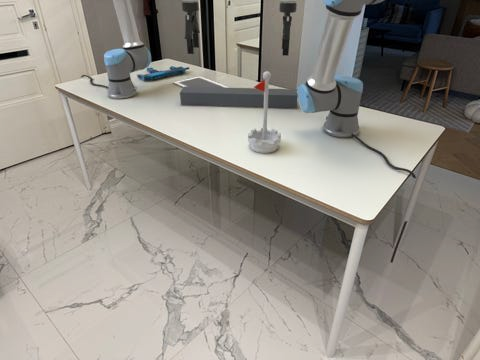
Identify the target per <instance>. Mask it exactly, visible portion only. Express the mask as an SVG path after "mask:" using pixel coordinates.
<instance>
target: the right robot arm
mask: <svg viewBox="0 0 480 360" xmlns="http://www.w3.org/2000/svg"><path fill="white" fill-rule="evenodd" d="M279 1H280V3H279V12H280V13H283V16H282V37H281V49H282V53H281V54H282V56H289V53H290V39H291V27H292V20H293V16H291V13H292V14H293V13H296V12H297V7H298V6H297V5H298V4H297V2H298V0H279ZM322 1H323V3H324V4H325V10H326V11H327V13H328V14H327V18H326V22H325V24H324V28H323V32H322V36H321V39H320V44H319V47H318V50H317V55H316V59H315V61H314V65H313V69H312V73H310V74H309V75H307V77H306V81H305V83H302V84H300V85H298V87H297V94H298V99H297V102H298V104H299V107H300V109H301V111H303V112H304V113H305V114H315V113H322V112H328V115H327V116H326V117H325V121H324V123H323V126H322V130H323V132H324V133H325V134H326V135H329V136H332V137H335V138H339V139H341V138H342V139H349V138H354V139H355V140H357V141H358V142H359V143H360V144H362V146H364V147H365V148H367V149H369V150H372V151H373V152H375V153H376V154H379V155H380V156H381V157H383V159H384V161H385V162H386V164H387V165H388V166H389V167H391V168H392V169H393V170H397V171H402V172H406V173H409V175H411V176H412V178H413V179H417V176H416V174H415V173H414V172H413V171H411V170H410V169H408V168H404V167H399V166H396V165H393V164H392V163H391V162H390V160H389V159H388V157H387V156H386V155H385V154H384V152H382V151H380V150H378V149H377V148H375V147H372V146H370V145H368V144H367V143H365V142H364V141H363V140H362V139H361V138H359V137H358V136H357V135H359V132H360V125H359V118H358V117H359V116H358V114H359V111H360V110H359V109H360V105H361V99H362V95H363V90H364V83H363V81H362V80H360V79H359V78H356V77H353V76H348V75H336V74H337V72H338V68H339V66H340V62H341V60H342V56H343V54H344V51H345V48H346V43H347V42H348V39H349V35H350V32H351V29H352V26H353V23H354V20H355V18H358V17H359V16H360V15H361V13H362V11H363V8H364V6H366V5H377V4H380V3H382V2H384V1H385V0H322ZM407 223H408V220H405V221H404V222H403V225H402V227H401V230H400V233H399V236H398V238H397V241H396V244H395V246H394V250H393V252H392V255H391V258H390V263H392V264H393V263H394V259H395V256H396V254H397V251H398V248H399V245H400V242H401V240H402V237H403V234H404V232H405V230H406V226H407Z"/></svg>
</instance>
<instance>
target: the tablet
mask: <svg viewBox="0 0 480 360" xmlns="http://www.w3.org/2000/svg"><path fill="white" fill-rule="evenodd" d="M172 84H174V85H177V86H179V87H181V88H183V87H184V86H185V87H224V88H231V87H230V86H227V85H224V84H222V83H219V82H216V81H214V80H212V79H208V78H206V77H203V76H201V75H199V76H194V77H191V78H186V79H182V80H178V81H173V82H172Z"/></svg>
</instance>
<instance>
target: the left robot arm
mask: <svg viewBox="0 0 480 360" xmlns="http://www.w3.org/2000/svg"><path fill="white" fill-rule="evenodd" d="M181 1H182V2H181V10H182V12H185V13H186V14H184V15H185V16H184V19H185V25H184V27H185V28H184V31H185V32H184V40H186V50H187V54H188V55H194V54H195V52H194V48H195V49H196V48H200V40H199V34H200V33H201V31H200V29H199V23H198V17H197V12H199V11H200V7H199V6H200V5H199V2H198V1H199V0H181ZM112 3H113V6H114V9H115V13H116V17H117V21H118V25H119V29H120V32H121V36H122V40H123V45H122V48H115V49H114V48H113V49H111V50H108V51H106V52H105V53H104V54H103V60H104V62H103V63H104V66H105V70H106V75H107V78H108V86H107V85H104V84H97V83H94V82H93V81H92V80H93V77H91V76H89V75H87V74H82V75H81V76H80V78H83V77H86V78H89V83H90V84H91V85H92V86H96V87H102V88H105V89H107V95H108V97H109V98H110V99H112V100H113V99H115V100H124V99H129V98H133V97H134V96H136V95H137V94H138V93H137V86H135V85H134V83H133V81H132V78H131V73H134V72H139V71H143V70H145V69H147V68H149V66H150V65H151V62H152V54H151V52H150V49H148V48H147V47H146V46H145V44H144V42H142V41H141V40H140V36H139V31H138V27H137V21H136V18H135V15H134V9H133V5H132V2H131V0H112Z"/></svg>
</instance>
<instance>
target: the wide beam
mask: <svg viewBox="0 0 480 360" xmlns="http://www.w3.org/2000/svg"><path fill="white" fill-rule="evenodd" d="M179 98H180V106H187V107H189V106H190V107H220V108H221V107H224V108H225V107H226V108H227V107H228V108H254V109H255V108H256V109H257V108H258V109H259V108H260V109H264V91H261V90H259V89H256V88H254V87H230V88H224V87H185V86H184V87H182V88H181V90H180V91H179ZM297 107H298V88H297V89H296V88H269V89H268V109H291V110H293V109H295V110H296V109H297Z"/></svg>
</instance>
